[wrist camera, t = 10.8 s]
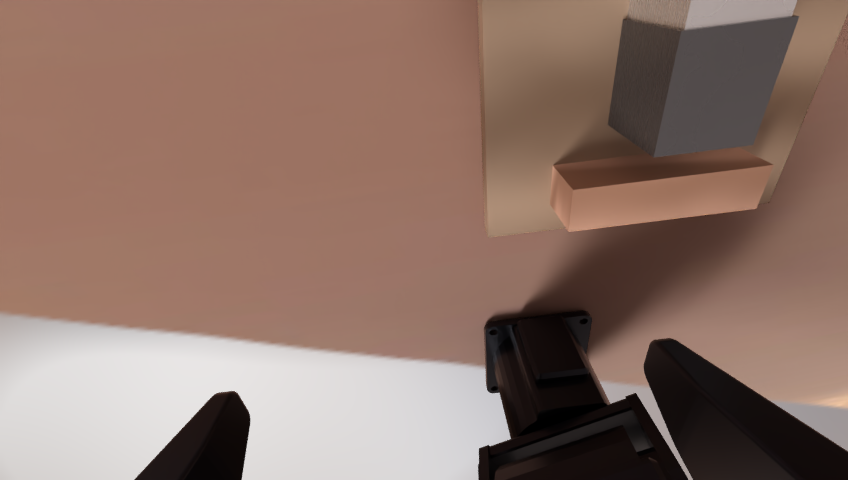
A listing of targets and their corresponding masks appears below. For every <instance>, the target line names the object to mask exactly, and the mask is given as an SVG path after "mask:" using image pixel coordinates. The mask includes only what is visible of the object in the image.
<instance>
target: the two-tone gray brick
mask: <svg viewBox="0 0 848 480" xmlns="http://www.w3.org/2000/svg"><path fill="white" fill-rule="evenodd" d="M796 3H797V0H630V2H629V8H628V15H627V19H623V22H622V29H621V36H620V43H619V50H618V56H617V63H616V70H615V77H614V84H613V91H612V98H611V104H610V111H609V118H608V125H609V126H610V127H611V128H613V129H614V130H616V131H617V132H618V133H620V134H621V135H623V136H624V137H625V138H627V139H628V140H630V141H631V142H632V143H634V144H635V145H637V146H638V147H639V148H641V149H642V150H644V151H645V152H646V153H648V154H649V155H651V156H652V157H653V158H654V157H662V156H670V155H678V154H686V153H694V152H702V151H710V150H718V149H726V148H734V147H742V146H750V145H753V144H754V141H755V139H756V136H757V133H758V130H759V127H760V125H761V122H762V119H763V116H764V114H765V111H766V108H767V105H768V102H769V100H770V97H771V94H772V91H773V89H774V86H775V83H776V80H777V77H778V75H779V72H780V69H781V66H782V64H783V61H784V58H785V55H786V52H787V50H788V47H789V44H790V41H791V39H792V36H793V33H794V30H795V27H796V25H797V22H798V19H799V16H796V15H792V14H793V11H794V9H795V6H796Z"/></svg>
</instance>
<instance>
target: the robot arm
mask: <svg viewBox="0 0 848 480" xmlns="http://www.w3.org/2000/svg"><path fill="white" fill-rule="evenodd" d="M581 319H582V320H581ZM591 323H592V318H591V316H590V315H589V313H588V312H586V311H577V312H569V313H561V314H552V315H544V316H536V317H528V318H520V319H511V320H503V321H495V322H490V323H488V324H486V325H485V327H484V339H485V365H486V386H487V390H488V391H489V392H490V393H499V392H500V396H501V400H502V404H503V408H504V412H505V416H506V420H507V424H508V429H509V432H510V437H511V439H510V440H507V441H504V442H502V443H499V444H496V445H493V446H489V445H487V446H485V447H482V448H479V465H478V472H479V473H478V474H479V480H688V478H687V476H686V475H685V473H684V471H683V470H682V468H681V466H680V464H679V463H678V461H677V459H676V458H675V456H674V454H673V453H672V451H671V450H670V448H669V446H668V445H667V443H666V441H665V440H664V438H663V436H662V435H661V433H660V432H659V430H658V428H657V427H656V425H655V424H654V422H653V420H652V419H651V417H650V415H649V414H648V412H647V410H646V409H645V407H644V406H643V404H642V402H641V401H640V399H639V397H638V396H637V394H636V393H634V394H631V395H628V396H626V399H623V400H620V401H617V402H615V403H612V404H610V402H609V400H608V398H607V396H606V394H605V392H604V390H603V388H602V386H601V384H600V382H599V380H598V378H597V376H596V374H595V372H594V370H593V368H592V366H591V364H590V362H589V360H588V358H587V356H586V352H587V346H588V340H589V334H590V329H591ZM493 329H495V330H493ZM491 330H492V331H491ZM644 373H645V376H646V378H647V381H648V383H649V386H650V388H651V390H652V393H653V395H654V397H655V400H656V402H657V405H658V407H659V409H660V411H661V414H662V417H663V419H664V421H665V423H666V426H667V428H668V431H669V433H670V435H671V438H672V440H673V442H674V444H675V446H676V448H677V450H678V452H679V454H680V456H681V458H682V460H683V462H684V464H685V465H686V467H687V469H688V471H689V473H690V474H691V476H692V478H693V480H848V451H846V450H845V449H843V448H842V447H840V446H839V445H837V444H836V443H834V442H832V441H831V440H829V439H828V438H826V437H824V436H823V435H822V434H820V433H819V432H817V431H815V430H814V429H812V428H811V427H809V426H808V425H806V424H805V423H803V422H801V421H800V420H798V419H797V418H795V417H794V416H792V415H791V414H789V413H788V412H786V411H785V410H783V409H781V408H780V407H778V406H777V405H775V404H774V403H772V402H771V401H769V400H768V399H766V398H764V397H763V396H761V395H760V394H758V393H757V392H755V391H754V390H752V389H751V388H749V387H747V386H746V385H744V384H743V383H741V382H740V381H738V380H737V379H735V378H734V377H732V376H730V375H729V374H727V373H726V372H724V371H723V370H721V369H720V368H718V367H717V366H715V365H713V364H712V363H710V362H709V361H707V360H706V359H704V358H703V357H701V356H700V355H698V354H696V353H695V352H693V351H692V350H690V349H689V348H687V347H686V346H684V345H683V344H681V343H679V342H678V341H676V340H674V339H671V338H666V339H658V340H653V341H652V342H651V343H650V345H649V349H648V352H647V355H646V359H645V362H644ZM249 427H250V414H249V412H248V410H247V408H246V406H245V405H244V403H243V401H242V400H241V398H240V396H239V395H238V393H236V392H235V391H229V392H221V393H217V394H215V395H214V396H212V398H210V400H208V402H207V403H206V404H205V405H204V406H203V407H202V408H201V409H200V410H199V411H198V412H197V413H196V414H195V415H194V417H193V418H192V419H191V420H190V421H189V422H188V423H187V424H186V425H185V426H184V427H183V428H182V429H181V431H179V433H178V434H177V435H176V436H175V437H174V438H173V439H172V440H171V441H170V442H169V443H168V444H167V445H166V446H165V448H164V449H163V450H162V451H161V452H160V453H159V454H158V455H157V456H156V457H155V459H153V460H152V461H151V462H150V464H149V465H148V466H147V467H146V468H145V469H144V470H143V471H142V472H141V473H140V474H139V475H138V476H137V478H136V479H135V480H241V479H242V473H243V467H244V460H245V453H246V447H247V440H248V434H249Z"/></svg>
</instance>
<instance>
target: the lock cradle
mask: <svg viewBox="0 0 848 480" xmlns="http://www.w3.org/2000/svg"><path fill="white" fill-rule="evenodd" d="M629 2H630V0H478V31H479V64H480V97H481V129H482V162H483V194H484V227H485V230H486V233H487V236H488V238H490V237H498V236H507V235H515V234H523V233H531V232H539V231H547V230H555V229H563V228H566V229H567V230H568V232H572V231H581V230H589V229H597V228H605V227H613V226H621V225H629V224H637V223H645V222H653V221H661V220H669V219H677V218H686V217H694V216H702V215H710V214H718V213H726V212H734V211H742V210H750V209H756V208H757V206H758V204H765V203H769V201H770V199H771V197H772V194H773V192H774V189H775V187H776V185H777V182H778V180H779V177H780V175H781V173H782V170H783V168H784V165H785V163H786V161H787V158H788V156H789V153H790V151H791V149H792V146H793V144H794V141H795V139H796V137H797V134H798V132H799V129H800V127H801V125H802V122H803V120H804V117H805V115H806V113H807V110H808V108H809V105H810V103H811V101H812V98H813V96H814V93H815V91H816V89H817V86H818V84H819V81H820V79H821V77H822V74H823V72H824V70H825V67H826V65H827V62H828V60H829V58H830V55H831V53H832V50H833V48H834V46H835V43H836V41H837V38H838V36H839V34H840V31H841V29H842V26H843V24H844V22H845V19H846V17H847V14H848V0H797V3H796V6H795V9H794V11H793V14H792V15H796V16H799V19H798V22H797V25H796V27H795V30H794V33H793V36H792V39H791V41H790V44H789V47H788V50H787V52H786V55H785V58H784V61H783V64H782V66H781V69H780V72H779V75H778V77H777V80H776V83H775V86H774V89H773V91H772V94H771V97H770V100H769V102H768V105H767V108H766V111H765V114H764V116H763V119H762V122H761V125H760V127H759V130H758V133H757V136H756V139H755V141H754V144H753V145H750V146H742V147H734V148H726V149H718V150H710V151H702V152H694V153H686V154H678V155H670V156H662V157H654V158H653V157H652V156H651V155H649V154H648V153H646V152H645V151H644V150H642V149H641V148H639V147H638V146H637V145H635V144H634V143H632V142H631V141H630V140H628V139H627V138H625V137H624V136H623V135H621V134H620V133H618V132H617V131H616V130H614V129H613V128H611V127H610V126H609V125H608V118H609V111H610V104H611V98H612V91H613V84H614V77H615V70H616V63H617V56H618V50H619V43H620V36H621V29H622V22H623V19H627V15H628V8H629Z"/></svg>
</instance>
